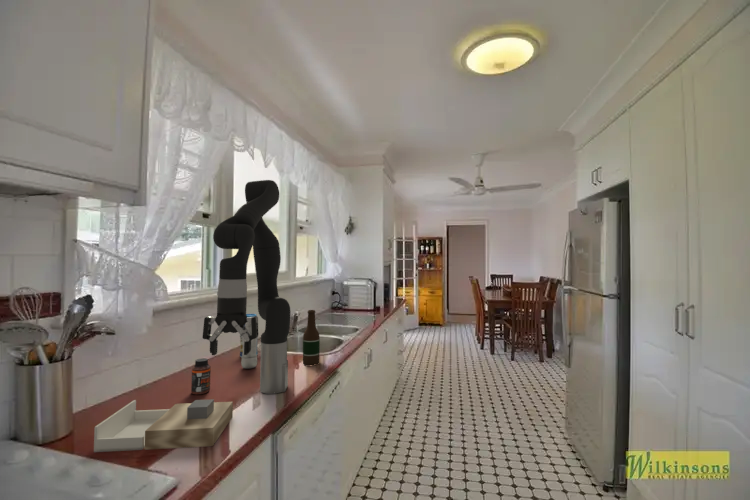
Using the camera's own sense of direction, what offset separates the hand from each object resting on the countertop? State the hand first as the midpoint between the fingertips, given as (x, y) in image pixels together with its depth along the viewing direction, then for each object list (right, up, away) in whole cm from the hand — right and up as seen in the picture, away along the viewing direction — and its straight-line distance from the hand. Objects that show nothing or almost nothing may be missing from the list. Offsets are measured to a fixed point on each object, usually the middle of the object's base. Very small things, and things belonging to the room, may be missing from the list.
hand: (230, 354), depth 94 cm
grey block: (-7, -16, -1) cm, 18 cm away
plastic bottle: (-14, -22, +53) cm, 59 cm away
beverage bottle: (-21, -23, +71) cm, 78 cm away
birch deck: (-9, -20, -2) cm, 23 cm away
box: (-23, -20, -3) cm, 31 cm away
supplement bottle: (-21, -22, +26) cm, 40 cm away
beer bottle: (+11, -23, +60) cm, 65 cm away
